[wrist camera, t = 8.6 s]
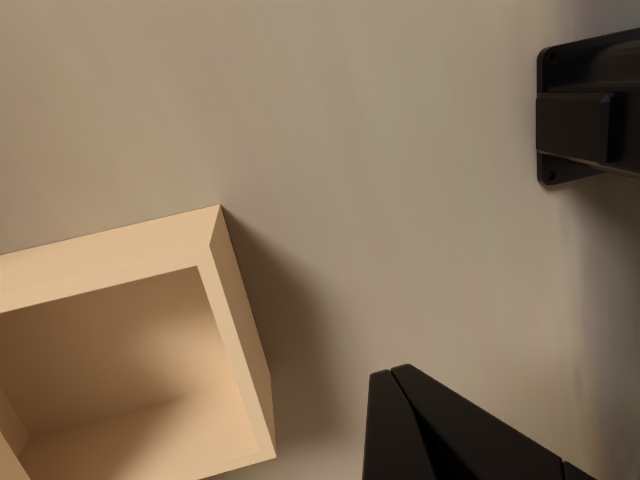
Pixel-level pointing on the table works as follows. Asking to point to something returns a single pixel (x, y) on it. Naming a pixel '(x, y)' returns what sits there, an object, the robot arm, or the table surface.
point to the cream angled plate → (10, 463)
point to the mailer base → (133, 355)
